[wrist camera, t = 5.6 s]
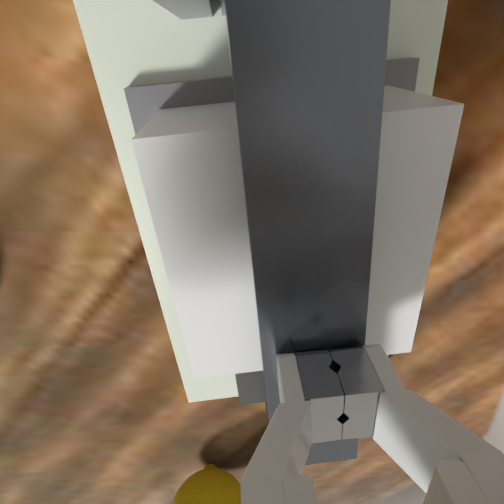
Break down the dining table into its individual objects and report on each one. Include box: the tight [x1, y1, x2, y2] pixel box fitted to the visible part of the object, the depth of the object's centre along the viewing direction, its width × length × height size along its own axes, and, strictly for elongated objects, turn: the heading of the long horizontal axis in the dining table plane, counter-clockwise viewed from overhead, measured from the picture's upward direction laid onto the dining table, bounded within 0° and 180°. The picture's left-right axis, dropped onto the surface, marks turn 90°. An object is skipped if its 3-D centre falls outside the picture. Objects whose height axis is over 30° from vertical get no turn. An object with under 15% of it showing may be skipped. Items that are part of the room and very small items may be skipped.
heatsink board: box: [73, 0, 464, 405], centre depth 13 cm, size 24×12×7 cm, turn 5°
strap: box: [224, 0, 391, 465], centre depth 10 cm, size 14×3×2 cm, turn 5°
